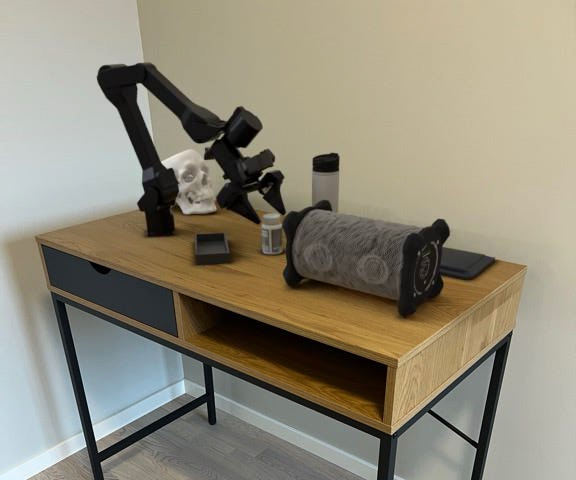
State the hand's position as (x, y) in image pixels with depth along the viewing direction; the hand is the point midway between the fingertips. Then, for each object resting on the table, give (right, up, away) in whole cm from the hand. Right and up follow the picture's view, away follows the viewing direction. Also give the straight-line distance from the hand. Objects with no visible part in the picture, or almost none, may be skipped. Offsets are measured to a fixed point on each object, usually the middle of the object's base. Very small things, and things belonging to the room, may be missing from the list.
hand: (272, 218), depth 134 cm
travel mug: (+12, -3, +10) cm, 16 cm away
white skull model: (-26, +14, +39) cm, 49 cm away
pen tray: (-14, -7, +4) cm, 16 cm away
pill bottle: (0, -7, +4) cm, 8 cm away
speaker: (+18, -20, -18) cm, 32 cm away
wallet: (+37, -11, -3) cm, 39 cm away
